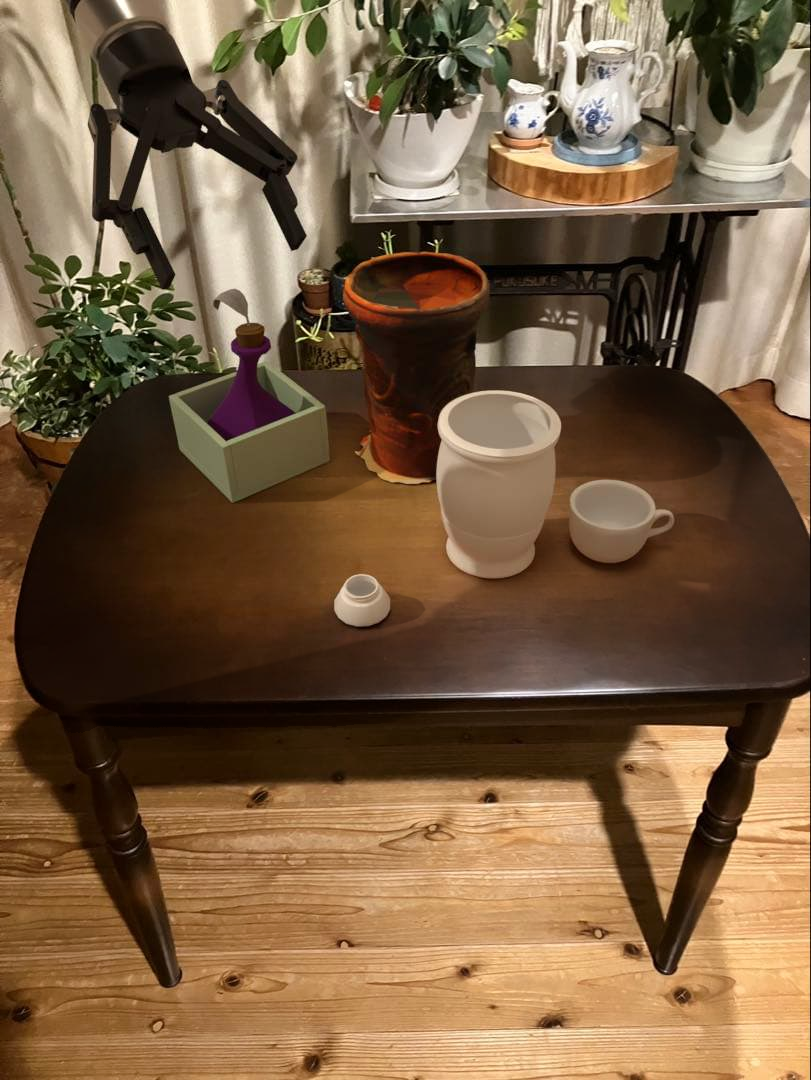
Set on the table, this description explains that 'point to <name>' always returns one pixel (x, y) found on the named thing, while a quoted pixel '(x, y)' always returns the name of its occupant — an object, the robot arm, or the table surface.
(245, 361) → the perfume bottle
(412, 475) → the vessel
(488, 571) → the jar
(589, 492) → the teacup
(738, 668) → the table surface
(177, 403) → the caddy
